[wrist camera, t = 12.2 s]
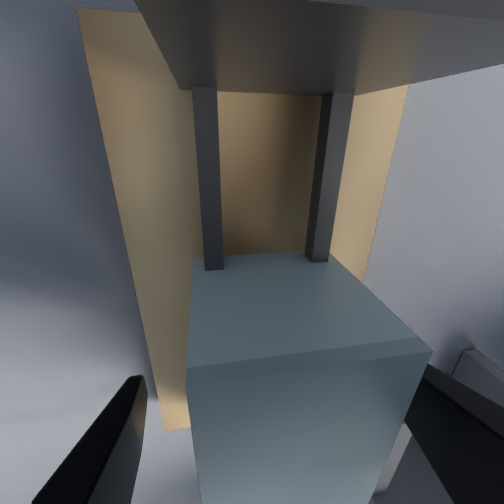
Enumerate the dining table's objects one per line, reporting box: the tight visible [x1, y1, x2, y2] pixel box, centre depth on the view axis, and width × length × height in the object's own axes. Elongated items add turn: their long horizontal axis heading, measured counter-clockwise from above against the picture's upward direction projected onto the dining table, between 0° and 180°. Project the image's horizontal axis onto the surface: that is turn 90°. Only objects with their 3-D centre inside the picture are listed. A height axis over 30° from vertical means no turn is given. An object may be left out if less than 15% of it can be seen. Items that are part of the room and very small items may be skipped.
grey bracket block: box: [134, 0, 504, 504], centre depth 7 cm, size 14×5×6 cm, turn 179°
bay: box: [368, 349, 504, 504], centre depth 16 cm, size 8×8×5 cm
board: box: [76, 7, 409, 432], centre depth 11 cm, size 9×16×2 cm, turn 179°
